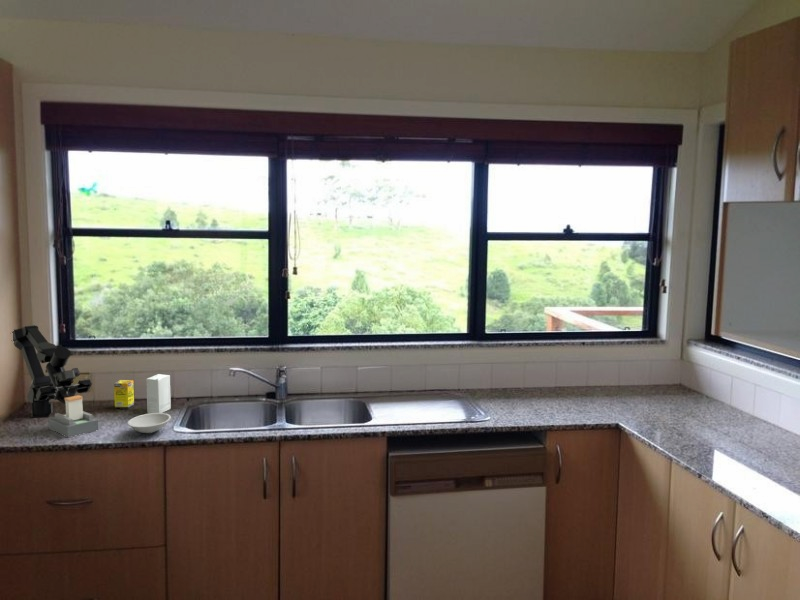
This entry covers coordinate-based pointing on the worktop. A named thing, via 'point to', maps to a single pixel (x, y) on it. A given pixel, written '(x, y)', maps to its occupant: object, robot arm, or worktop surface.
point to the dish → (149, 422)
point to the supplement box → (124, 394)
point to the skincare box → (158, 393)
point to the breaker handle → (74, 407)
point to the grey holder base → (73, 424)
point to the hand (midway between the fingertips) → (72, 407)
